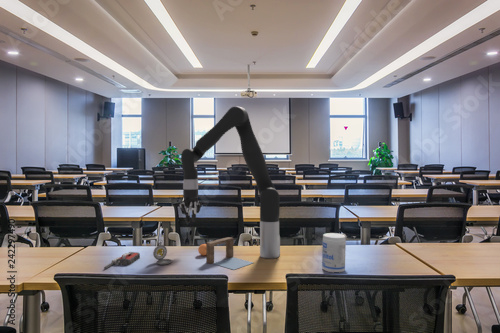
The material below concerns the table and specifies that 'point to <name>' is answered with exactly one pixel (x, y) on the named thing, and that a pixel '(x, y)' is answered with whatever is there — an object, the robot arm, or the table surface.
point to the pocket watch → (159, 251)
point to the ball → (202, 249)
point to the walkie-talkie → (125, 259)
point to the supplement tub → (333, 252)
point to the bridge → (211, 244)
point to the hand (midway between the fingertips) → (190, 222)
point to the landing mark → (233, 263)
